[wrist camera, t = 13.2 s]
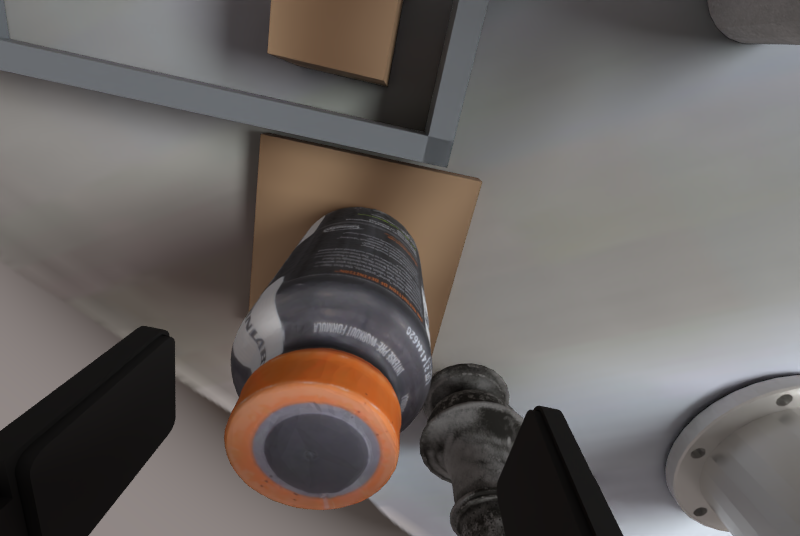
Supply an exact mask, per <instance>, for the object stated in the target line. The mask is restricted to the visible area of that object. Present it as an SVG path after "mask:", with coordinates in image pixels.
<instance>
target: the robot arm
mask: <svg viewBox="0 0 800 536" xmlns="http://www.w3.org/2000/svg"><path fill="white" fill-rule="evenodd" d="M174 422H175V341H174V339H173V338H172V337H170V336H169V333H168V331H166V330H162V329H157V328H152V327H147V326H141V327H139V328H137V329H136V330H135V331H133V332H132V333H131V334H129V335H128V336H127V337H125V338H124V339H123V340H121V341H120V342H119V343H117V344H116V345H115V346H113V347H112V348H111V349H109V350H108V351H107V352H105V353H104V354H103V355H101V356H100V357H98V358H97V359H96V360H94V361H93V362H92V363H91V364H89V365H88V366H87V367H85V368H84V369H82V370H81V371H80V372H78V373H77V374H76V375H74V376H73V377H72V378H70V379H69V380H68V381H66V382H65V383H64V384H62V385H61V386H60V387H58V388H57V389H56V390H54V391H53V392H52V393H51V394H49V395H48V396H46V397H45V398H44V399H42V400H41V401H40V402H38V403H37V404H36V405H34V406H33V407H32V408H30V409H29V410H28V411H26V412H25V413H24V414H22V415H21V416H20V417H18V418H17V419H16V420H14V421H13V422H12V423H10V424H9V425H8V426H6V427H5V428H3V429H2V430H1V431H0V536H88V535H89V534H90V533H91V532H92V530H93V529H94V528H95V527H96V525H97V524H98V523H99V521H100V520H101V519H102V518H103V516H104V515H105V513H106V512H107V511H108V510H109V509H110V508H111V506H112V505H113V504H114V503H115V501H116V500H117V499H118V497H119V496H120V495H121V494H122V492H123V491H124V490H125V489H126V487H127V486H128V485H129V484H130V482H131V481H132V480H133V479H134V477H135V476H136V475H137V473H138V472H139V471H140V470H141V468H142V467H143V466H144V465H145V463H146V462H147V461H148V459H149V458H150V457H151V456H152V454H153V453H154V452H155V451H156V449H157V448H158V446H160V444H161V443H162V442H163V440H164V439H165V438H166V437H167V436H168V434H169V433H170V431H171V430H172V428H173V425H174ZM665 474H666V483H667V486H668V488H669V491H670V493H671V495H672V496H673V497H674V499H675V500H676V502H677V503H678V504H679V506H680V507H681V509H682V510H683V511H684V512H685V513H686V514H687V515H688V516H689V517H690V518H692V519H693V520H695V521H697V522H699V523H700V524H702V525H705V526H708V527H711V528H714V529H717V530H721V531H727V532H730V533H731V534H732V535H733V536H800V375H795V376H788V377H780V378H773V379H770V380H766V381H762V382H758V383H755V384H752V385H749V386H747V387H744V388H742V389H739V390H737V391H734V392H732V393H730V394H729V395H727V396H725V397H723V398H721V399H720V400H718V401H716V402H714V403H713V404H711V405H710V406H709V407H707V408H706V409H705V410H703V411H702V412H701V413H699V414H698V415H697V416H696V417H695V418H694V419H693V420H692V421H691V422H690V423H689V424H688V425H687V426H686V427H685V428H684V429H683V431H682V432H681V433H680V435H679V436H678V438H677V439H676V440H675V442H674V444H673V446H672V448H671V451H670V453H669V455H668V458H667V463H666V468H665ZM497 499H498V504H499V508H500V513H501V518H502V523H503V528H504V532H505V536H623V534H622V532H621V530H620V528H619V526H618V524H617V522H616V520H615V518H614V516H613V514H612V512H611V510H610V508H609V506H608V504H607V502H606V500H605V498H604V496H603V494H602V492H601V490H600V487H599V485H598V483H597V481H596V479H595V478H594V476H593V475H592V473H591V471H590V469H589V467H588V464H587V462H586V460H585V458H584V456H583V454H582V452H581V450H580V448H579V446H578V444H577V442H576V440H575V438H574V436H573V434H572V432H571V430H570V428H569V426H568V424H567V422H566V420H565V418H564V416H563V414H562V412H561V411H560V410H557V409H553V408H548V407H543V406H536V407H535V408H534V410H529V411H528V412H527V413H526V415H525V418H524V420H523V423H522V425H521V427H520V430H519V432H518V434H517V437H516V439H515V441H514V444H513V446H512V448H511V451H510V453H509V456H508V458H507V460H506V463H505V465H504V467H503V470H502V472H501V474H500V477H499V479H498V482H497Z"/></svg>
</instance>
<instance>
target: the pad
mask: <svg viewBox="0 0 800 536" xmlns="http://www.w3.org/2000/svg"><path fill="white" fill-rule="evenodd" d="M481 185H482V181H481V180H479V179H478V178H474V177H470V176H465V175H461V174H456V173H451V172H447V171H442V170H438V169H433V168H428V167H424V166H419V165H415V164H410V163H406V162H401V161H396V160H392V159H387V158H383V157H378V156H373V155H369V154H364V153H360V152H355V151H350V150H346V149H341V148H337V147H332V146H328V145H323V144H318V143H314V142H309V141H305V140H300V139H295V138H291V137H286V136H282V135H277V134H272V133H262V134H261V136H260V151H259V166H258V181H257V196H256V210H255V225H254V240H253V255H252V270H251V285H250V299H249V311H250V310H251V308H252V307H253V306H254V304H255V303H256V302H257V300H258V299H259V297H260V295H261V294H262V293H263V291H264V290H265V288H266V287H267V286H268V285H269V283H270V282H271V281H272V279H273V278H274V277H275V275H276V274H277V273H278V271H279V270H280V268H281V267H282V266H283V264H284V263H285V261H286V260H287V259H288V257H289V256H290V254H291V253H292V252H293V250H294V249H295V248H296V246H297V245H298V244H299V242H300V241H301V239H302V238H303V237H304V235H305V234H306V232H307V231H308V230H309V229H310V227H311V226H312V225H313V224H314V223H316V222H317V221H318V220H319V219H320V218H322V217H323V216H325V215H326V214H328V213H330V212H332V211H335V210H338V209H342V208H348V207H364V208H370V209H376V210H379V211H381V212H384V213H386V214H388V215H390V216H391V217H393V218H394V219H396V220H397V221H398V222H399V223H401V224H402V225H403V226H404V227H405V228H406V230H407V231H408V232H409V234H410V235H411V236H412V238H413V239H414V241H415V244H416V246H417V249H418V252H419V257H420V262H421V269H422V277H423V285H424V293H425V299H426V306H427V313H428V320H429V332H430V346H431V356H432V353H433V350H434V347H435V343H436V340H437V336H438V333H439V329H440V326H441V322H442V319H443V316H444V312H445V309H446V305H447V302H448V298H449V295H450V291H451V288H452V284H453V281H454V278H455V274H456V271H457V267H458V264H459V260H460V257H461V253H462V250H463V247H464V243H465V240H466V236H467V233H468V229H469V226H470V222H471V219H472V216H473V212H474V209H475V205H476V202H477V198H478V195H479V191H480V188H481Z"/></svg>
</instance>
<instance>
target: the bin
mask: <svg viewBox="0 0 800 536" xmlns="http://www.w3.org/2000/svg"><path fill="white" fill-rule="evenodd" d="M488 3H489V0H453V5H452V9H451V14H450V18H449V23H448V27H447V32H446V36H445V41H444V45H443V50H442V54H441V59H440V63H439V68H438V72H437V77H436V81H435V86H434V91H433V95H432V100H431V104H430V109H429V113H428V118H427V122H426V127H425V131H424V132H422V131H417V130H413V129H409V128H404V127H400V126H395V125H391V124H386V123H382V122H377V121H373V120H369V119H364V118H360V117H355V116H351V115H346V114H342V113H337V112H333V111H328V110H324V109H320V108H315V107H311V106H306V105H302V104H297V103H293V102H288V101H284V100H280V99H275V98H271V97H266V96H262V95H257V94H253V93H248V92H244V91H239V90H235V89H231V88H226V87H222V86H217V85H213V84H208V83H204V82H199V81H195V80H191V79H186V78H182V77H177V76H173V75H168V74H164V73H159V72H155V71H150V70H146V69H142V68H137V67H133V66H128V65H124V64H119V63H115V62H110V61H106V60H102V59H97V58H93V57H88V56H84V55H79V54H75V53H70V52H66V51H62V50H57V49H53V48H48V47H44V46H39V45H35V44H30V43H26V42H21V41H17V40H13V39H10V38H9V31H8V25H7V19H6V12H5V6H4V0H0V70H2V71H7V72H12V73H16V74H21V75H25V76H30V77H34V78H39V79H44V80H48V81H53V82H57V83H62V84H66V85H71V86H76V87H80V88H85V89H89V90H94V91H98V92H103V93H108V94H112V95H117V96H121V97H126V98H130V99H135V100H140V101H144V102H149V103H153V104H158V105H162V106H167V107H172V108H176V109H181V110H185V111H190V112H194V113H199V114H204V115H208V116H213V117H217V118H222V119H226V120H231V121H236V122H240V123H245V124H249V125H254V126H258V127H263V128H268V129H272V130H277V131H281V132H286V133H290V134H295V135H300V136H304V137H309V138H313V139H318V140H322V141H327V142H332V143H336V144H341V145H345V146H350V147H354V148H359V149H364V150H368V151H373V152H377V153H382V154H386V155H391V156H396V157H400V158H405V159H409V160H414V161H418V162H423V163H428V164H432V165H437V166H441V167H446V168H447V166H448V162H449V158H450V154H451V150H452V146H453V142H454V138H455V134H456V130H457V126H458V122H459V118H460V114H461V110H462V106H463V102H464V98H465V94H466V90H467V87H468V83H469V79H470V75H471V71H472V67H473V63H474V59H475V55H476V51H477V47H478V43H479V39H480V35H481V31H482V27H483V23H484V19H485V15H486V11H487V7H488Z"/></svg>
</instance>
